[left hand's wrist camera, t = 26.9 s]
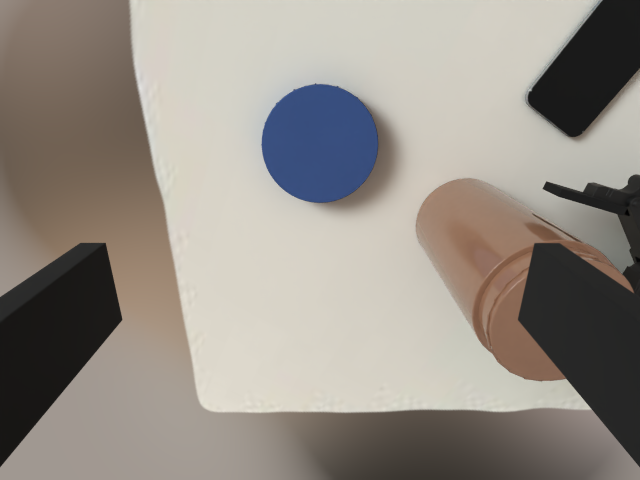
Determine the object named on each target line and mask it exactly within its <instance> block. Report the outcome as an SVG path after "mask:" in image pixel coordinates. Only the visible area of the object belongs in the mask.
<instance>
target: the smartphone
mask: <svg viewBox="0 0 640 480" xmlns="http://www.w3.org/2000/svg"><path fill="white" fill-rule="evenodd" d="M639 68H640V0H600V1H599V2H598V3H597V4H596V6H595V7H594V8H593V9H592V11H591V12H590V13H589V14H588V16H587V17H586V18H585V19H584V21H583V22H582V23H581V24H580V26H579V27H578V28H577V29H576V31H575V32H574V33H573V34H572V36H571V37H570V38H569V39H568V41H567V42H566V43H565V44H564V46H563V47H562V48H561V49H560V51H559V52H558V53H557V54H556V56H555V57H554V58H553V59H552V61H551V62H550V63H549V64H548V66H547V67H546V68H545V70H544V71H543V72H542V73H541V75H540V76H539V77H538V78H537V80H536V81H535V82H534V83H533V85H532V86H531V87H530V88H529V90H528V91H527V93H526V97H525V99H526V103H527V104H528V106H530V107H531V108H532V109H533V110H535V111H536V112H537V113H539V114H540V115H541V116H542V117H544V118H545V119H546V120H547V121H549V122H550V123H551V124H552V125H554V126H555V127H556V128H558V129H559V130H560V131H561V132H563V133H564V134H565V135H567V136H571V137H576V136H579V135H580V134H582V133H583V132H584V131H585V130H586V128H587V127H588V126H589V125H590V124H591V123H592V122H593V121H594V119H595V118H596V117H597V116H598V115H599V114H600V113H601V111H602V110H603V109H604V108H605V107H606V106H607V105H608V103H609V102H610V101H611V100H612V99H613V98H614V97H615V96H616V94H617V93H618V92H619V91H620V90H621V89H622V88H623V86H624V85H625V84H626V83H627V82H628V81H629V80H630V78H631V77H632V76H633V75H634V74H635V73H636V72H637V71H638V69H639Z"/></svg>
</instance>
